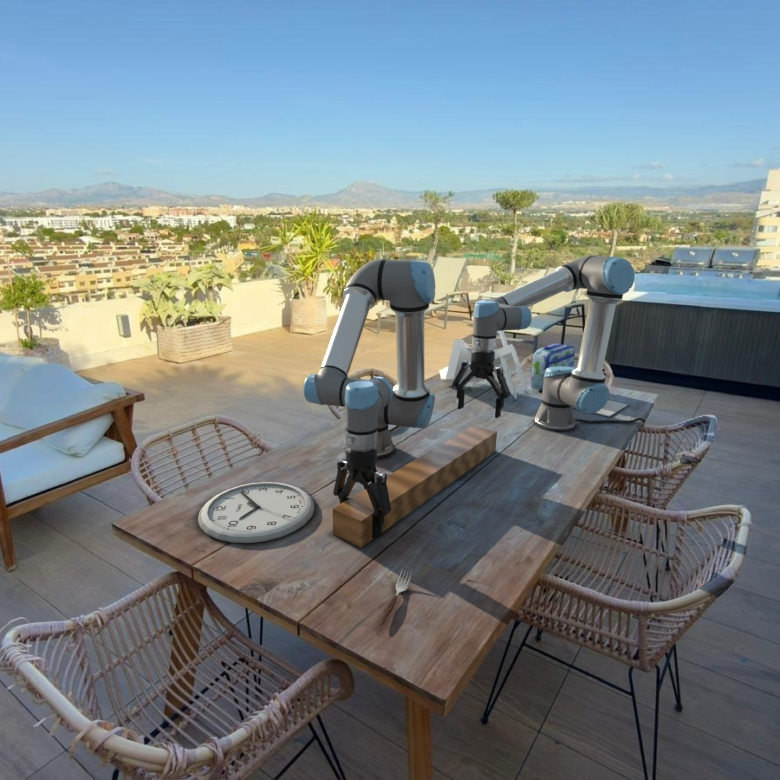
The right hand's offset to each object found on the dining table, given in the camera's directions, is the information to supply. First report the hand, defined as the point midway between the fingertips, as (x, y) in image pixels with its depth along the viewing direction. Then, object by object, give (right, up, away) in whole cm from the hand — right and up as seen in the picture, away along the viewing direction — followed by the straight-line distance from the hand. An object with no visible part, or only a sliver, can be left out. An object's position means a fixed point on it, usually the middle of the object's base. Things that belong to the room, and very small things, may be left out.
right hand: (478, 412), depth 173 cm
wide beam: (-18, -21, -19) cm, 34 cm away
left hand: (-37, -27, -42) cm, 62 cm away
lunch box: (+48, +8, +78) cm, 92 cm away
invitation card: (+62, 0, +53) cm, 81 cm away
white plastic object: (+12, +6, +70) cm, 71 cm away
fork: (-29, -36, -67) cm, 81 cm away
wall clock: (-65, -25, -34) cm, 77 cm away
